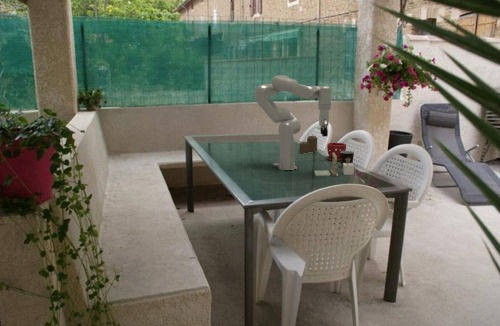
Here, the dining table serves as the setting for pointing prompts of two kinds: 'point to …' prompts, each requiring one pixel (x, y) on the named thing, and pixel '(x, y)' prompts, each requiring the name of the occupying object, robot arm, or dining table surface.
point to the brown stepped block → (309, 145)
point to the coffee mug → (346, 157)
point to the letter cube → (348, 168)
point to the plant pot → (332, 148)
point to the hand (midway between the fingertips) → (324, 135)
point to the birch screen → (334, 165)
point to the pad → (322, 173)
